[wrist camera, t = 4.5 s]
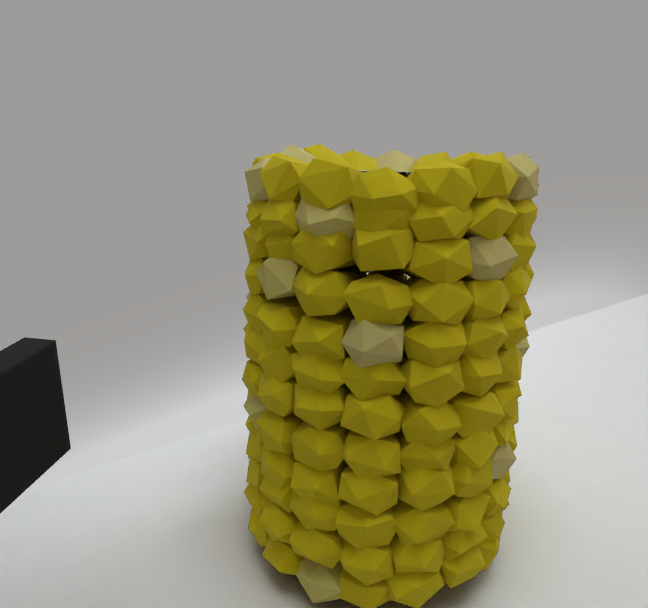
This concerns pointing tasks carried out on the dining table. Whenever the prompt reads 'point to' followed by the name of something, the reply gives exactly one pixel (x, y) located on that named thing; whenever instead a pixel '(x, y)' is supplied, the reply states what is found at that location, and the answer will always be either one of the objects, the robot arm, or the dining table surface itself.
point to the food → (384, 365)
